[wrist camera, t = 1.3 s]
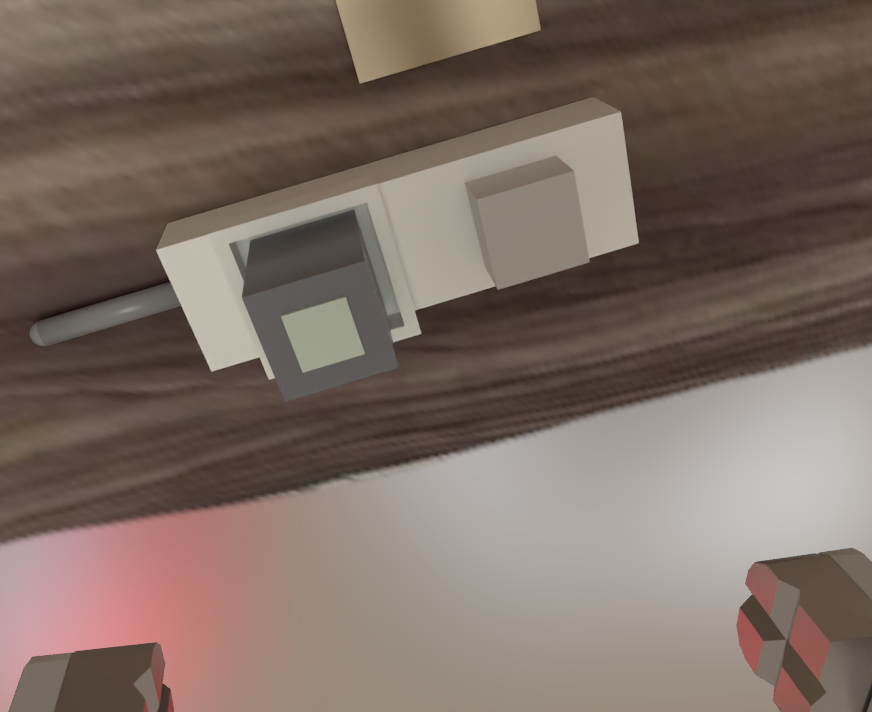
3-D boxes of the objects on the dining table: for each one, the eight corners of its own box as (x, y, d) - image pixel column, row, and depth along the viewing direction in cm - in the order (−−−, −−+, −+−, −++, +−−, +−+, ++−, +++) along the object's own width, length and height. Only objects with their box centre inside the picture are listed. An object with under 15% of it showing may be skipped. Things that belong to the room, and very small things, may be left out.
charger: (354, 209, 33) (365, 262, 28) (384, 303, 36) (399, 369, 30) (250, 240, 33) (241, 299, 28) (286, 332, 36) (284, 403, 30)
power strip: (592, 86, 36) (642, 112, 31) (613, 227, 39) (662, 272, 34) (-2, 262, 36) (-53, 319, 30) (70, 390, 39) (36, 461, 34)
